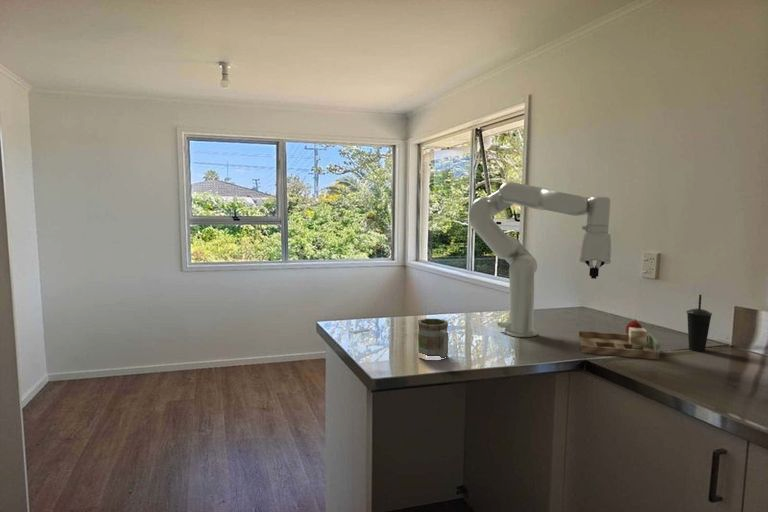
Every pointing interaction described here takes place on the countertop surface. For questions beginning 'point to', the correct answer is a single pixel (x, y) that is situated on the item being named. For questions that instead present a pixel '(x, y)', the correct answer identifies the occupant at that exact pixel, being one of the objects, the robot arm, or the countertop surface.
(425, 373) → the countertop surface
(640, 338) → the block
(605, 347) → the track
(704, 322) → the drinking cup
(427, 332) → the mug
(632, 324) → the onion
